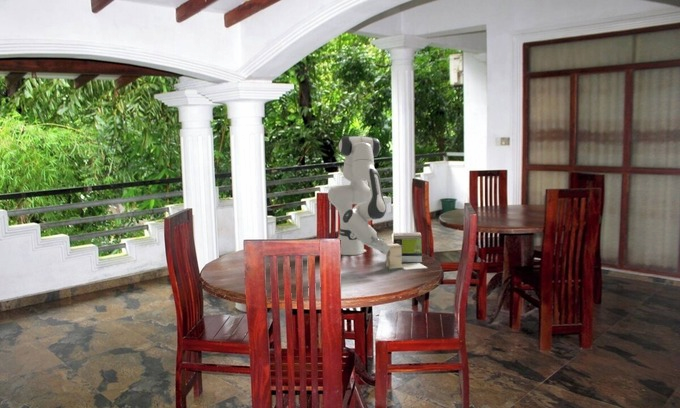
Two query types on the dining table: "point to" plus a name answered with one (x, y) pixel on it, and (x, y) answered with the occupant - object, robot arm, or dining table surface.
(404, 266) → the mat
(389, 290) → the dining table surface
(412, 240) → the tea box
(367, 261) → the dining table surface
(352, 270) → the dining table surface
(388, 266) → the beech block
